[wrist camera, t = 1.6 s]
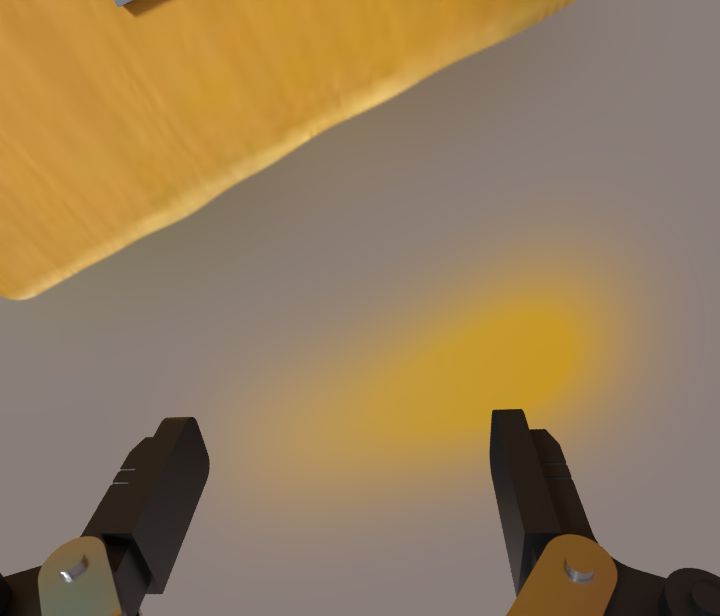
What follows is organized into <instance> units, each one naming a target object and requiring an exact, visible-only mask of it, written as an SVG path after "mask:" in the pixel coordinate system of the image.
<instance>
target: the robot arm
mask: <svg viewBox="0 0 720 616" xmlns="http://www.w3.org/2000/svg"><path fill="white" fill-rule="evenodd" d="M490 467H491V475H492V480H493V485H494V490H495V494H496V499H497V504H498V509H499V514H500V519H501V523H502V528H503V533H504V538H505V543H506V548H507V553H508V558H509V563H510V568H511V572H512V577H513V582H514V587H515V591H516V597H517V598H516V600H515V602H514V603H513V605H512V607H511V608H510V610H509V612H508V614H507V615H506V616H720V577H718V576H716V575H714V574H712V573H709V572H707V571H704V570H700V569H694V568H683V569H678V570H677V571H674V572H673V573H671V574H670V575H669V577H668V578H663V577H660V576H656V575H653V574H650V573H646V572H642V571H640V570H636V569H633V568H630V567H628V566H626V565H624V564H622V563H620V562H618V561H617V560H615V559H613V558H612V557H611V556H610V555H609V554H608V552H607V551H606V550H605V549H604V548H603V547H601V546H600V545H599V544H598V542H597V541H596V539H595V537H594V535H593V533H592V530H591V528H590V525H589V522H588V520H587V517H586V514H585V512H584V509H583V506H582V504H581V501H580V498H579V495H578V493H577V490H576V488H575V485H574V482H573V480H572V479H571V474H570V472H569V469H568V466H567V465H566V461H565V458H564V455H563V453H562V450H561V447H560V445H559V443H558V442H557V441H556V440H555V439H554V438H553V437H552V436H551V435H550V434H549V433H548V432H547V430H545V429H534V430H533V429H531V430H529V427H528V424H527V421H526V417H525V414H524V412H523V410H522V409H508V410H507V409H506V410H493V411H492V420H491V436H490ZM208 474H209V456H208V453H207V450H206V447H205V444H204V441H203V438H202V435H201V432H200V429H199V426H198V423H197V421H196V419H195V418H194V417H177V418H176V417H174V418H165V419H164V420H163V421H162V422H161V424H160V426H159V427H158V429H157V431H156V433H155V435H154V437H147V438H145V439H143V440H142V441H141V442H140V443H139V444H138V445H137V446H136V447H135V448H134V449H133V450H132V451H131V452H130V453H129V455H128V456H127V458H126V460H125V461H124V463H123V465H122V467H121V471H120V472H118V474H117V475H116V477H115V479H114V480H113V485H111V486H110V487H109V489H108V491H107V492H106V494H105V496H104V497H103V499H102V501H101V502H100V504H99V506H98V508H97V509H96V511H95V513H94V514H93V516H92V518H91V520H90V521H89V523H88V525H87V527H86V528H85V530H84V532H83V533H82V535H81V536H80V537H79V538H76V539H73V540H71V541H69V542H67V543H65V544H63V545H62V546H60V547H59V548H58V549H56V550H55V551H54V552H53V553H52V554H51V555H50V556H49V557H48V558H47V560H46V561H45V562H44V564H43V565H42V566H39V567H36V568H32V569H29V570H26V571H22V572H19V573H16V574H12V575H9V576H6V577H3V576H2V575H1V573H0V616H143V614H142V612H141V609H140V606H141V603H142V601H143V598H144V596H145V594H163V591H164V589H165V586H166V584H167V581H168V579H169V576H170V573H171V571H172V568H173V566H174V563H175V561H176V558H177V555H178V553H179V550H180V548H181V545H182V543H183V540H184V537H185V535H186V532H187V530H188V527H189V525H190V522H191V520H192V517H193V514H194V512H195V509H196V506H197V504H198V501H199V499H200V496H201V494H202V491H203V489H204V486H205V484H206V481H207V478H208Z"/></svg>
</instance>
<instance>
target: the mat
mask: <svg viewBox="0 0 720 616" xmlns="http://www.w3.org/2000/svg"><path fill="white" fill-rule="evenodd" d="M114 1H115V3H116V5H117V6H118V7H120V6H123V5H125V4H127V3H129V2H131V1H133V0H114Z"/></svg>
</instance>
